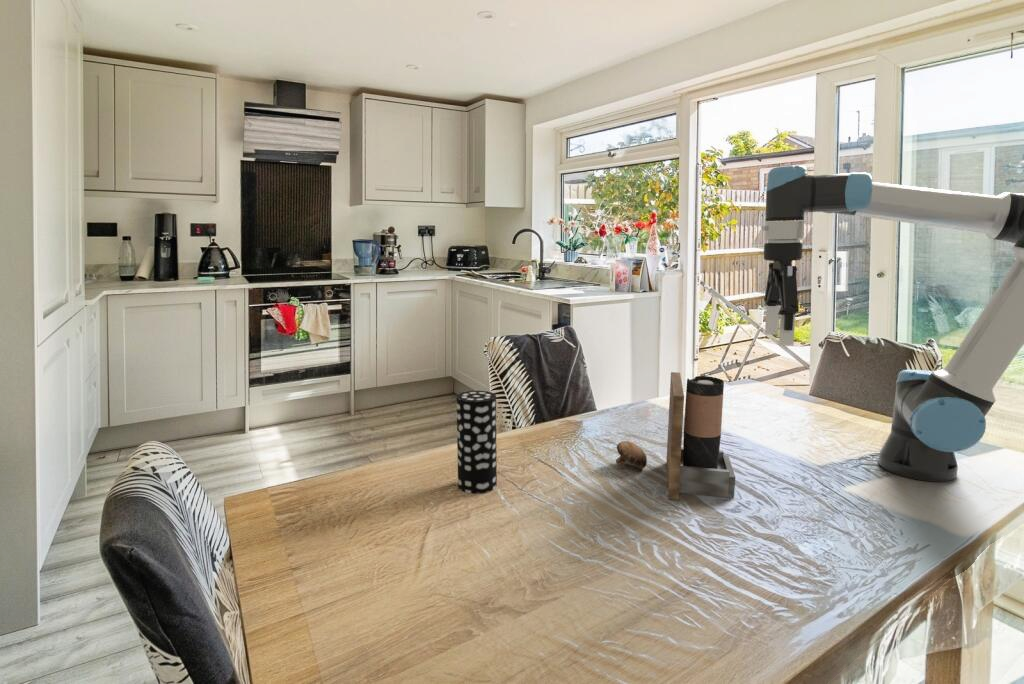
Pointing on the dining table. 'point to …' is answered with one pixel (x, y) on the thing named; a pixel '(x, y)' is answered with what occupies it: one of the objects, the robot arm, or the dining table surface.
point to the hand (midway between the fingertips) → (778, 339)
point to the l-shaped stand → (677, 474)
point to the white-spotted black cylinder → (476, 441)
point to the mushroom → (630, 455)
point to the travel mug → (703, 422)
